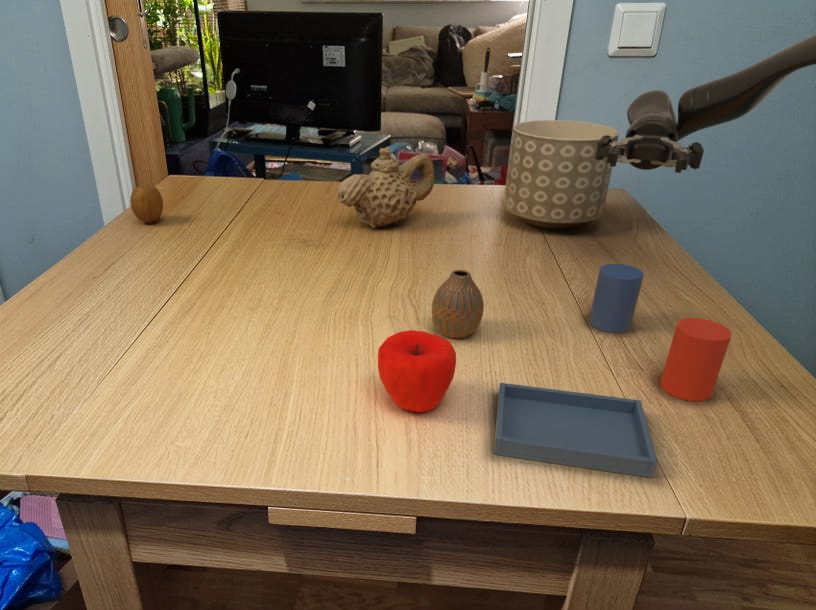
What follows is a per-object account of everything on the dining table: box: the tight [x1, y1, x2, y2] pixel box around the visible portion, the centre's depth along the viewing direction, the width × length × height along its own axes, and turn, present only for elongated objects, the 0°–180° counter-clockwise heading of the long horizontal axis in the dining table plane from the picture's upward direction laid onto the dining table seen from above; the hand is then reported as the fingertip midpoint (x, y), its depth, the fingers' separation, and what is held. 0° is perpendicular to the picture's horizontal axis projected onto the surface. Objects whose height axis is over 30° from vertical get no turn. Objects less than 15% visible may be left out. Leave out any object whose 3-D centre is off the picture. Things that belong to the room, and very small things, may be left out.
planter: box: [503, 119, 620, 230], centre depth 129 cm, size 19×19×18 cm
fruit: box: [129, 182, 164, 225], centre depth 131 cm, size 6×6×8 cm
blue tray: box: [493, 382, 658, 479], centre depth 70 cm, size 15×11×2 cm
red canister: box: [659, 317, 733, 402], centre depth 77 cm, size 6×6×8 cm
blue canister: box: [588, 263, 645, 334], centre depth 92 cm, size 6×6×8 cm
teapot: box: [337, 146, 436, 229], centre depth 129 cm, size 21×12×15 cm, turn 118°
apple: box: [377, 329, 457, 413], centre depth 74 cm, size 9×9×8 cm
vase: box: [431, 269, 485, 339], centre depth 89 cm, size 7×7×9 cm
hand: (646, 162), depth 93 cm, fingers open, 8 cm apart
